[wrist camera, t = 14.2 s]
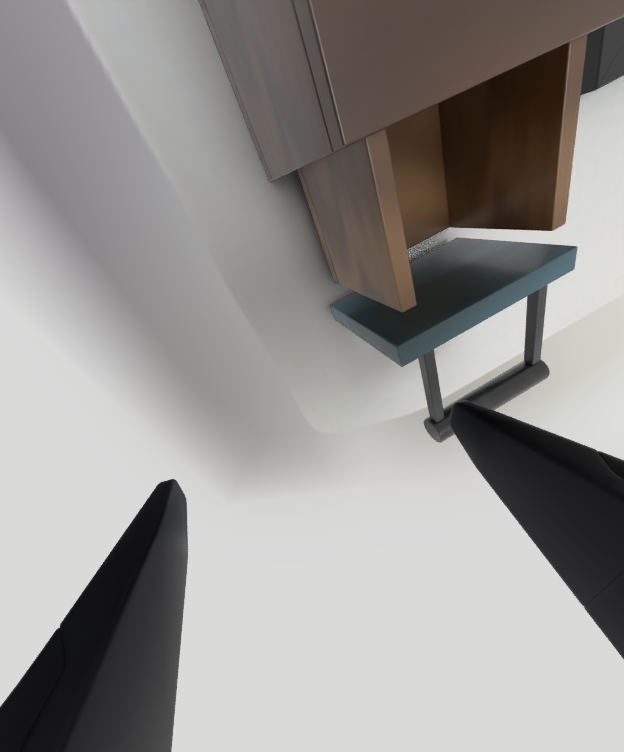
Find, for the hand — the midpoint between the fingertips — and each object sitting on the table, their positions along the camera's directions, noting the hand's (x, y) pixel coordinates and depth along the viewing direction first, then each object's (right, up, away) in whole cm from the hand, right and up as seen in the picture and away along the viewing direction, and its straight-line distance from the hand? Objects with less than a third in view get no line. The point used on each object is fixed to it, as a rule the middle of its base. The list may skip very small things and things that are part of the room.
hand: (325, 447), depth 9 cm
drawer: (+5, +11, +10) cm, 15 cm away
